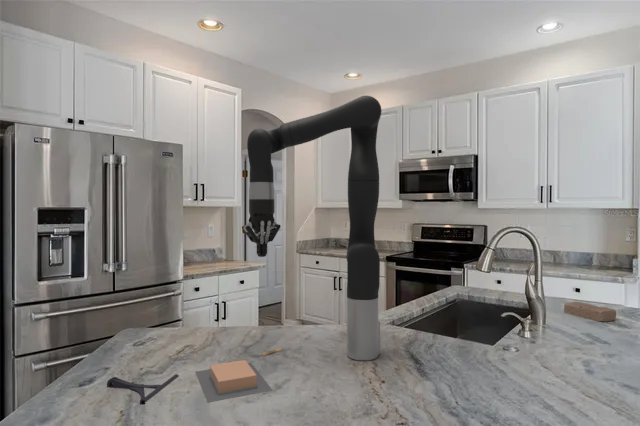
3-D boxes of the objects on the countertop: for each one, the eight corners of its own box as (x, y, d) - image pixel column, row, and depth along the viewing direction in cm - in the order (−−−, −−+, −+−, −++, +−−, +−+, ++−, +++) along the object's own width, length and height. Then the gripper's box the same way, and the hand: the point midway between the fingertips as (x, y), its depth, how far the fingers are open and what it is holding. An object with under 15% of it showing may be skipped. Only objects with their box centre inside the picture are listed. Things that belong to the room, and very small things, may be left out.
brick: (562, 313, 174) (562, 301, 174) (576, 311, 177) (577, 300, 177) (602, 323, 159) (602, 311, 159) (617, 321, 162) (617, 309, 162)
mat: (251, 364, 117) (251, 362, 117) (272, 392, 100) (272, 390, 100) (195, 373, 111) (195, 371, 111) (207, 405, 93) (207, 402, 93)
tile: (245, 359, 111) (256, 375, 101) (245, 371, 111) (256, 387, 101) (210, 365, 107) (218, 381, 97) (210, 377, 107) (218, 394, 97)
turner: (278, 350, 129) (278, 347, 129) (285, 353, 126) (285, 349, 126) (242, 361, 119) (242, 358, 119) (248, 364, 117) (248, 361, 117)
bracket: (127, 376, 111) (127, 366, 111) (179, 380, 108) (179, 369, 108) (87, 402, 97) (87, 390, 96) (146, 407, 94) (146, 395, 94)
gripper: (250, 197, 118) (250, 259, 118) (287, 198, 127) (287, 255, 127) (235, 198, 123) (235, 257, 124) (271, 198, 133) (271, 253, 133)
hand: (262, 256), depth 126 cm, fingers closed
